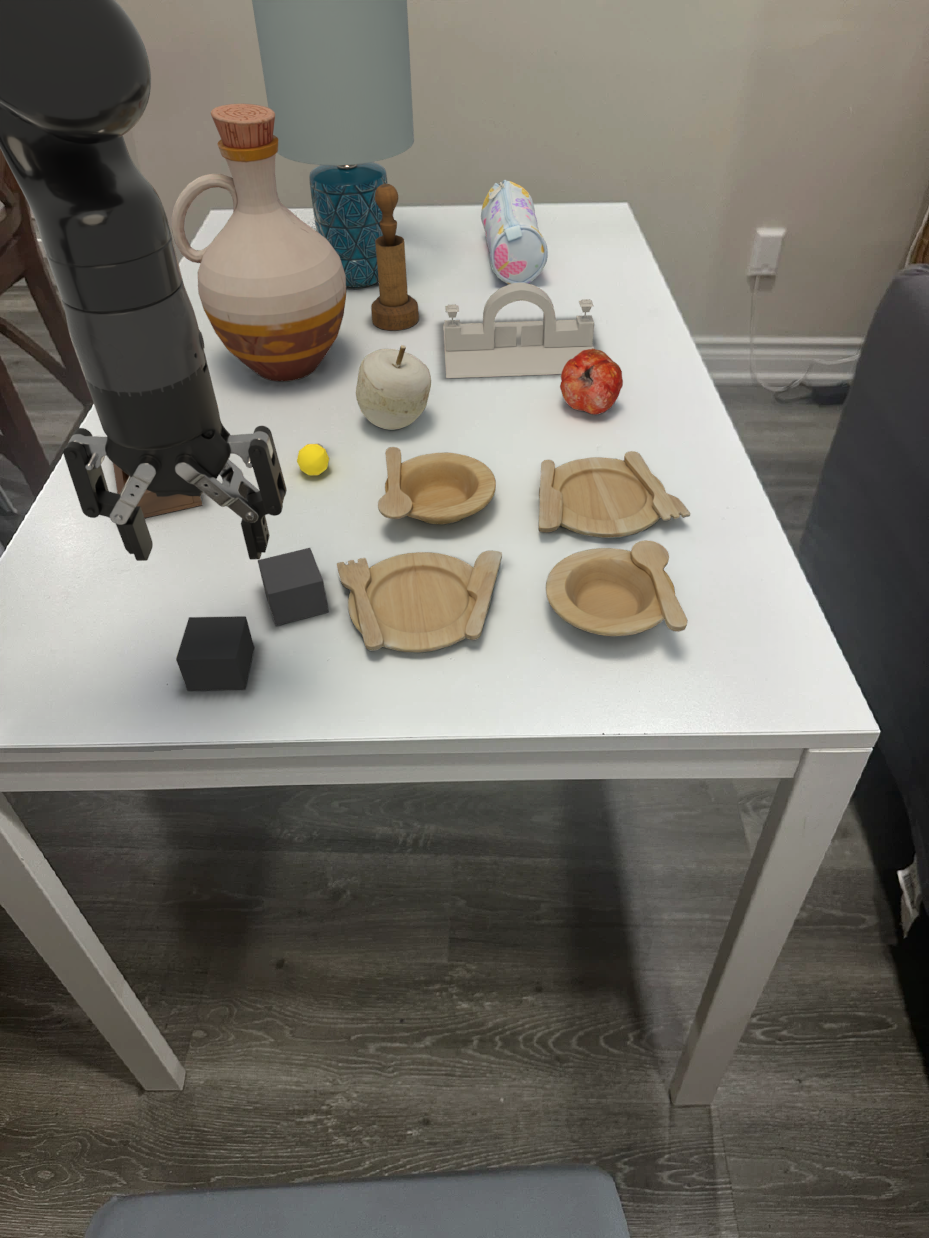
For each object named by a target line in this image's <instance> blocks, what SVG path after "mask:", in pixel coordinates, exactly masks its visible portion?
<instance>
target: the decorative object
mask: <svg viewBox="0 0 929 1238" xmlns="http://www.w3.org/2000/svg"><path fill="white" fill-rule="evenodd" d="M406 349H407V346H406V345H404V344H401V345H400V347H399V349H395V348H380V349H378V350H375V351H372V352H370V353H369V354H367V355H366V356H365V357H363V359H362V360H361V363H360V365H359V368H358V373H357V381H356V387H355V397H356V402H357V405H358V408H359V410H360V412H361V414H362V415H363V416H364V417H365V418H366V420H368V422H369V423H371V424H372V425H374V426H375V427H378V428H380V429H383V430H389V431H390V430H391V431H393V430H400V429H403V428H405V427H406V428H407V427H408V426H410V425H412V424H413V423H414V422H415V421H416V420H417V419H419V417H420V416H421V415H422V414H423V412H424V411H425V409H426V407H427V404H428V402H429V396H430V392H431V388H432V375H431V372H430V368H429V367H428V365H426V364H425V363H424V361H422V360H421V359H419V358H418V357H417V356H415V355H413V354H411V353H409V352H407V351H406Z"/></svg>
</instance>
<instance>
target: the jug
mask: <svg viewBox="0 0 929 1238" xmlns="http://www.w3.org/2000/svg"><path fill="white" fill-rule="evenodd" d="M210 116H211V118H212V120H213V124H214V125H215V127H216V130H217V132H218V135H219V137H220V140H218V141H217V147H218V150H219V153H220V155H221V156H222V158H224V159H225V162H226V164H227V166H228V169H229V172H230V174H231V176H229V175H226V174H224V173H207V174H205V175H202V176H198V177H197V178H195V179H194V180H192V181H191V182H189V183H188V184H187V185H186V186H185V187H184V188H183V190H182V191H181V192H180V193H179V195H178V197H177V199H176V201H175V203H174V206H173V208H172V214H171V234H172V238H173V241H174V244H175V245H176V247H177V248H178V250H179V252H180V254H181V256H182V257H184V258H185V259H186V260H188V261H190V262H192V263H196V264H199V266H198V270H197V291H198V293H197V294H198V296H199V300H200V302H201V306H202V309H203V311H204V313H205V315H206V317H207V319H208V321H209V324H210V325H211V327H212V329H213V331H214V333H215V335H216V336H217V337H218V339H219V340H220V341H221V343H222V344H223V346H224V347H225V349H227V351H228V352H229V353H230V354H232V355H233V356H234V357H235V358H236V359H237V360H238V361H240V362H241V363H242V364H243V365H245V366H246V367H248V368H249V370H251V371H252V372H254V373H255V374H257V375H258V376H259V377H261V378H263V379H264V380H267V381H271V382H272V381H273V382H292V381H297V380H301V379H304V378H305V377H308V376H310V375H311V374H313V373H314V372H315V371H316V370H317V368H318V367H319V366H320V364H321V363H322V361H323V360H324V359H325V357H326V356H327V355H328V353H329V352H330V350H331V349H332V347H333V345H334V343H335V341H336V340H337V338H338V336H339V333H340V329H341V325H342V324H343V320H344V314H345V308H346V302H347V301H346V300H347V287H346V276H345V273H344V269H343V266H342V263H341V260H340V257H339V255H338V254H337V253H336V251H335V250H334V248H333V247H332V246H331V244H330V243H329V242H328V241H327V239H325V238H324V237H323V236H322V235H321V234H319V233H318V232H317V231H316V229H314V228H313V227H312V226H310V225H309V224H307V223H306V222H305V221H303V220H302V219H300V218H299V217H298V216H297V215H296V214H295V213H294V212H293V211H291V210H290V209H289V208H288V207H287V206H286V205H285V204H283V203H282V201H281V199H280V197H279V195H278V189H277V179H276V155H277V154H278V153H277V152H278V138H277V137H276V136H274V135H273V131H274V121H275V113H274V111H273V110H271V109H270V108H268V106H263V105H261V104H252V103H229V104H223V105H219V106H216V107H214V108H213V109H211V111H210ZM214 188H215V189H216V188H220V189H224V190H226V191H228V193H229V194H230V196H231V199H232V205H233V209H232V214H230V217H229V219H228V220H227V221H226V223H225V225H223V227H222V229H221V230H220V231H219V232H218V233H217V234H216V236H215V237H214V238H213V240H212V241H211V242H210V243H209V244H208V245H207V246H205V248H202V249H199V250H198V249H194V248H193V247H192V245H191V244H190V242H189V241H188V238H187V235H186V232H185V222H186V221H185V219H186V217H187V216H186V215H187V213H188V211H189V209H190V207H191V205H192V203H193V202H194V201H195V200H196V198H197V197H198V196H200V195H201V194H202V193H203V192H204V191H207V190H209V189H214Z"/></svg>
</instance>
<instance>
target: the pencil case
mask: <svg viewBox="0 0 929 1238" xmlns="http://www.w3.org/2000/svg"><path fill="white" fill-rule="evenodd" d="M480 220H481V224H482V226H483V227H482V228H483V231H484V233H485V239H486V244H487V249H488V252H489V260H490V266H491V270H492V271H493V273H494V274H495V276H496V277H497V278H498V279H499V280H501V282H504V283H505V284H507V285H509V284H513V283H519V282H520V283H528V284H531V282H533V281H534V280H536V279H537V278H538V276H540V274H541V273H542V272H543V270H544V269H545V267H546V264H547V261H548V257H549V251H548V250H549V249H548V244H547V241H546V240H545V238H544V236H543V235H542V233H541V232H540V229H539V225H538V218H537V216H536V208H535V204H534V200H533V197H532V196H531V194H530V192H528V190H526V189H525V188H524V187H523V186H522V185H520V184H518V183H516V182H513V181H511V180H507V179H503V180H502V181H500V182H499V183H498V182H494V184H493V185H492V186H491V187H490V189H489V191H488V192H487V194H486V196H485V198H484V200H483V203H482V206H481V211H480Z"/></svg>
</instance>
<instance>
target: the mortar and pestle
mask: <svg viewBox="0 0 929 1238" xmlns="http://www.w3.org/2000/svg"><path fill="white" fill-rule="evenodd" d="M375 201H376V203H377V205H378V207H379V208H380V210H381V212H382V220H381V221H380V227H381V231H382V234H383V236H381V237H379V238H377V239H376V241H375V244H376V255H377V267H378V279H379V282H378V290H379V291H378V292H379V294H378V295H379V296H377V298H376V299H374V300H373V301H372V303H371V305H370V309H371V311H370V313H371V321H372V324H373V325H374V326H375V327H376V328H378V329H381V330H384V331H402V330H407V329H409V328H413V327H414V326H415V325H417V323H418V322H419V320H420V314H419V302H418V301H417V300H416V299H415V298H413V296H412V295H410V294H408V293H409V292H408V277H407V264H406V261H407V260H406V244H405V242H406V241H405V238H404V237H403V236H401V235H398V234H397V230H398V220H396V219H395V217H394V212H395V209H396V208H397V205H398V202H399V192H398V190H397V188H396V187H395V186H394V185H392V184H390V183H388V184H382V185H380V186H379V187H378V188H377V189H376V192H375Z"/></svg>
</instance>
